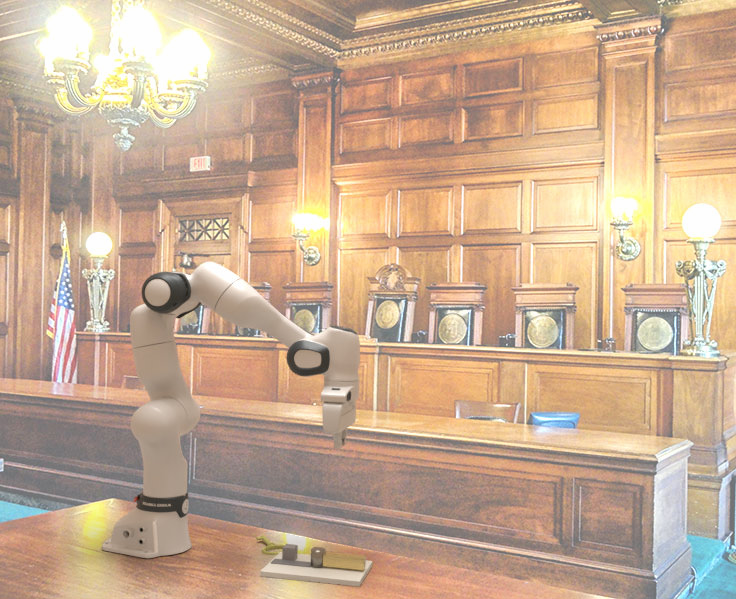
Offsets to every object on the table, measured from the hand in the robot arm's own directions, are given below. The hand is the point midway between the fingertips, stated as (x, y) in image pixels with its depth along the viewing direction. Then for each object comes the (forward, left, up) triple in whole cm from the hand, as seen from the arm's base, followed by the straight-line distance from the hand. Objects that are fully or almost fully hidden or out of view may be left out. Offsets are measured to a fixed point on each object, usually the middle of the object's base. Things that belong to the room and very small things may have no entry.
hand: (339, 446), depth 198 cm
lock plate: (-3, -6, -29) cm, 30 cm away
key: (-19, +7, -30) cm, 36 cm away
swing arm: (+2, -7, -28) cm, 28 cm away
